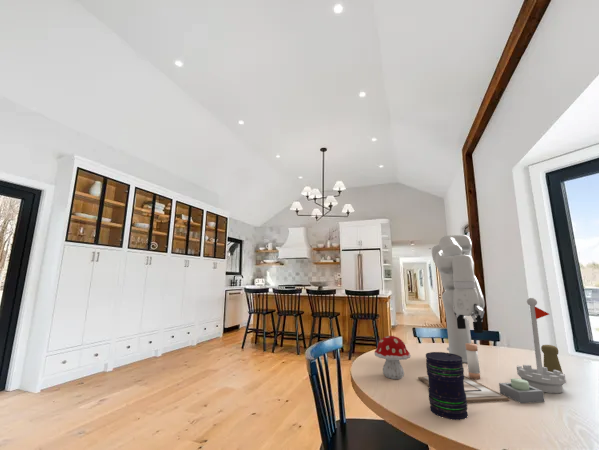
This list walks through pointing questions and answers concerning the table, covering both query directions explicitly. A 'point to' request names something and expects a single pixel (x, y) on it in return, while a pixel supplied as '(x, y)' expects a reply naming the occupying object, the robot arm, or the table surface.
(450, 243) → the robot arm
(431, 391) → the navy striped cylinder
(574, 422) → the table surface
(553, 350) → the cork
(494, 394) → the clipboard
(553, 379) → the flag stand
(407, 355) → the decorative mushroom
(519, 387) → the button
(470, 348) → the marker
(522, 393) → the button housing
